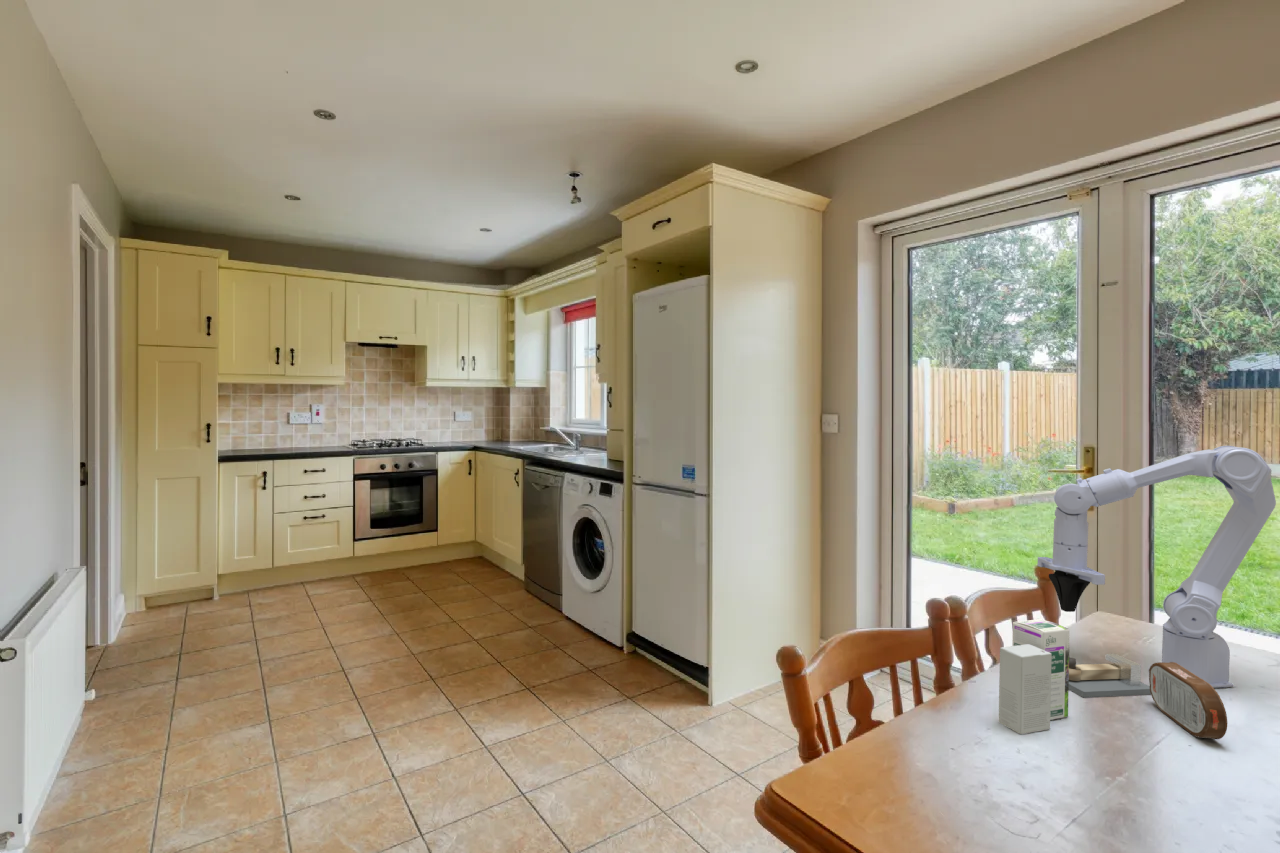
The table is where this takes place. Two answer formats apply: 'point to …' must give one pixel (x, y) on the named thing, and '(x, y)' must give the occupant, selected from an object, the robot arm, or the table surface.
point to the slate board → (1106, 688)
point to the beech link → (1093, 671)
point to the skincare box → (1025, 688)
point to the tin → (1188, 700)
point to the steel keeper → (1126, 669)
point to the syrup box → (1057, 644)
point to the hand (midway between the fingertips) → (1068, 610)
